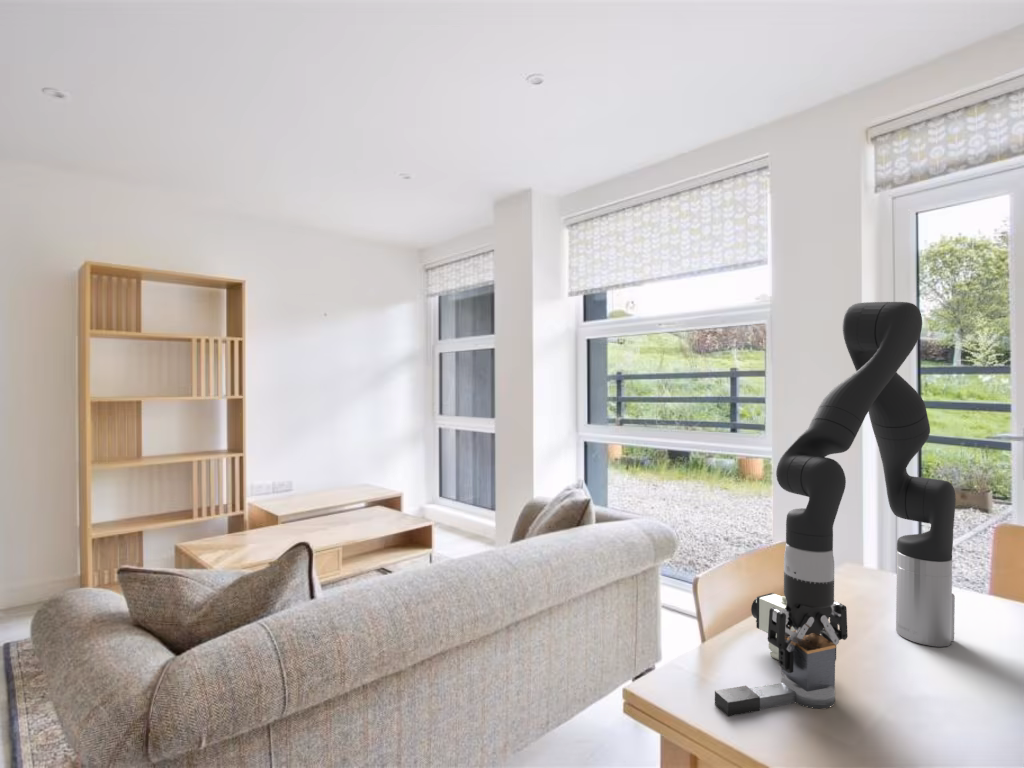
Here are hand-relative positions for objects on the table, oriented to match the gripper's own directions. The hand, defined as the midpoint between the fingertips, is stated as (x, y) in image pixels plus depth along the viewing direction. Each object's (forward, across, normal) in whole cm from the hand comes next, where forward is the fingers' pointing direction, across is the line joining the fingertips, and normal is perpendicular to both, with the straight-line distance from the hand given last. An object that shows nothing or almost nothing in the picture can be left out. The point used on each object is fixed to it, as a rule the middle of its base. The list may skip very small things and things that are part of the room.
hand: (807, 667), depth 92 cm
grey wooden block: (+2, 0, 0) cm, 2 cm away
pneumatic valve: (+5, +5, +11) cm, 13 cm away
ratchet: (+5, -6, 0) cm, 8 cm away
